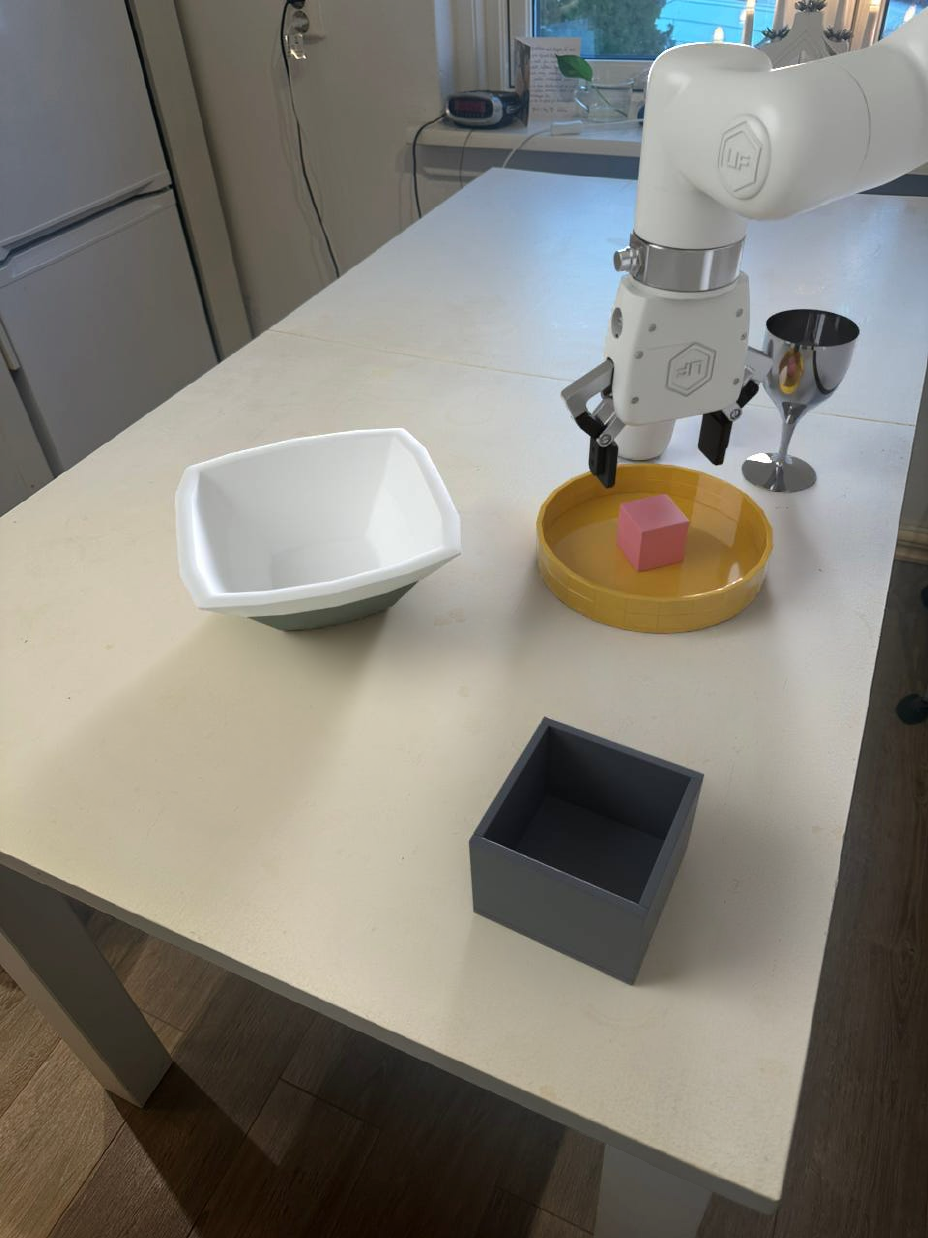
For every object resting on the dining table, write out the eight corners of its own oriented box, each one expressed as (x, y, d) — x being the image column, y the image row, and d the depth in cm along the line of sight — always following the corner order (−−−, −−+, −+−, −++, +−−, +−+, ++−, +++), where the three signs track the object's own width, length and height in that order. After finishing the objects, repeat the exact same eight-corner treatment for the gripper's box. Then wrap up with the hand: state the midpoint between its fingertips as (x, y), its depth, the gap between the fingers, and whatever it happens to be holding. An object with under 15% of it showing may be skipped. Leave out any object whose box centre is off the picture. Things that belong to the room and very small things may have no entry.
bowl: (418, 491, 87) (411, 416, 82) (485, 642, 71) (482, 560, 65) (194, 535, 83) (170, 459, 78) (210, 705, 67) (181, 624, 61)
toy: (660, 533, 80) (666, 493, 77) (683, 561, 76) (689, 520, 74) (616, 543, 79) (619, 503, 76) (637, 572, 76) (641, 531, 73)
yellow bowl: (696, 477, 87) (700, 446, 85) (811, 601, 73) (821, 568, 70) (506, 518, 83) (506, 487, 81) (588, 657, 69) (591, 625, 67)
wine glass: (825, 459, 88) (864, 315, 78) (814, 501, 83) (854, 352, 73) (745, 445, 91) (773, 304, 81) (729, 485, 86) (757, 339, 76)
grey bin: (541, 789, 60) (544, 715, 55) (687, 847, 56) (704, 773, 51) (473, 912, 53) (467, 841, 48) (632, 987, 49) (645, 918, 44)
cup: (632, 410, 97) (638, 342, 92) (699, 429, 94) (710, 359, 88) (584, 454, 91) (588, 384, 86) (654, 476, 87) (663, 404, 82)
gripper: (590, 297, 56) (576, 514, 68) (826, 258, 59) (774, 471, 71) (548, 256, 61) (542, 464, 73) (767, 223, 65) (727, 427, 76)
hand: (656, 467), depth 72 cm, fingers open, 9 cm apart
